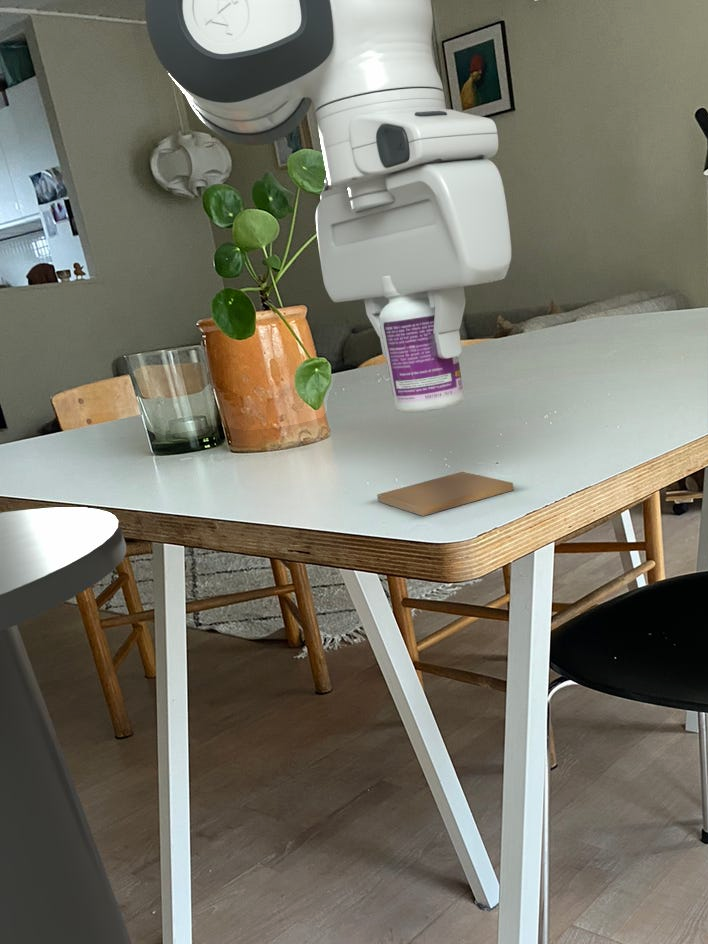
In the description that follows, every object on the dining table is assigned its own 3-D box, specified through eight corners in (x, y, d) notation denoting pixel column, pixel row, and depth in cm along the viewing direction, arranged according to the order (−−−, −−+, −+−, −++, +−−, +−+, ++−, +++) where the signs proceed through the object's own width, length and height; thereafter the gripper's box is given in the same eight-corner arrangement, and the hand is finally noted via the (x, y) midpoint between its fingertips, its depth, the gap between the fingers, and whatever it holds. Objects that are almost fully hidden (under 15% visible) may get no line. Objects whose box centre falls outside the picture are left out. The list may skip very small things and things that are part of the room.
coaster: (422, 516, 68) (421, 508, 68) (377, 501, 75) (376, 494, 74) (514, 490, 71) (513, 482, 71) (463, 478, 78) (462, 471, 78)
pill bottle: (477, 401, 69) (456, 263, 66) (412, 416, 67) (387, 275, 64) (447, 398, 74) (426, 268, 70) (385, 411, 72) (361, 279, 68)
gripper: (282, 179, 70) (321, 366, 76) (429, 123, 54) (466, 365, 60) (354, 173, 74) (386, 352, 79) (513, 117, 58) (540, 347, 63)
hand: (422, 358), depth 69 cm, fingers closed on pill bottle, 5 cm apart
